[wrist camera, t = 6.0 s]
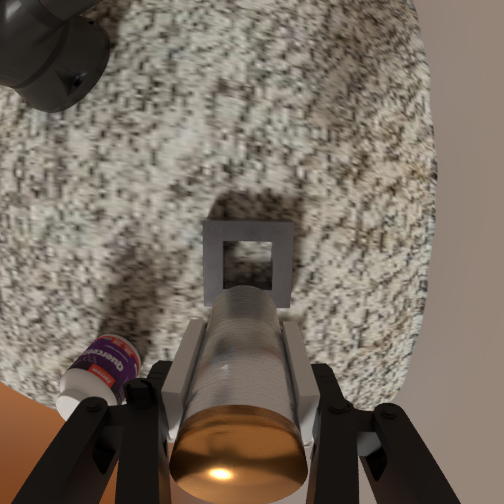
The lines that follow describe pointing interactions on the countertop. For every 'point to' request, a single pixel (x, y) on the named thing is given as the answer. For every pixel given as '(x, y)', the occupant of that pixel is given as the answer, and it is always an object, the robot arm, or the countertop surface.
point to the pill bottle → (99, 373)
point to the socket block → (248, 230)
